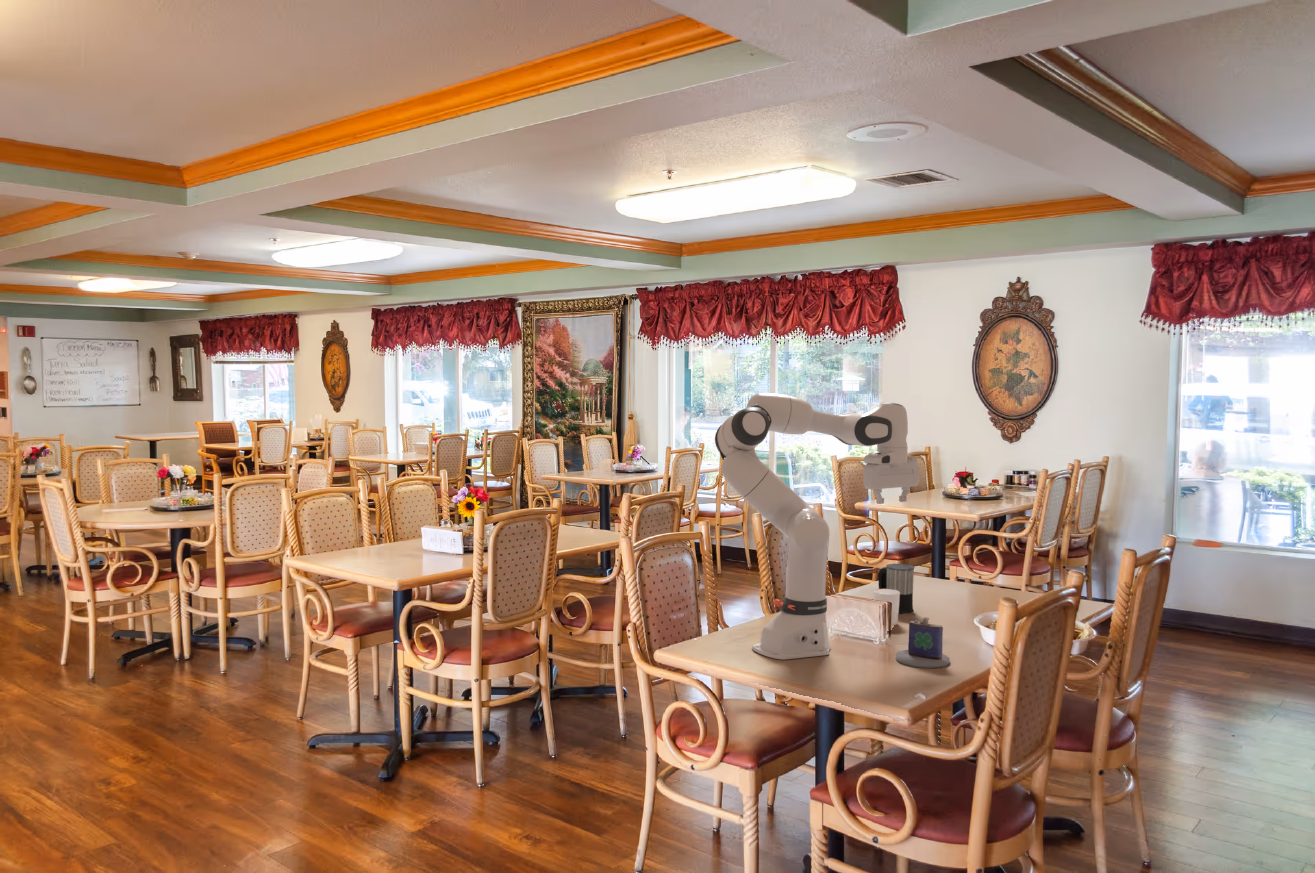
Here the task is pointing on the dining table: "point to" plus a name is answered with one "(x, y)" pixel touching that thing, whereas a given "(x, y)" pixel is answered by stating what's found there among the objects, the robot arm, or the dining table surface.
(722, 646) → the dining table surface
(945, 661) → the plate
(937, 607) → the dining table surface
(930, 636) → the flask
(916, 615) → the dining table surface
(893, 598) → the white cup
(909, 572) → the milk frother
